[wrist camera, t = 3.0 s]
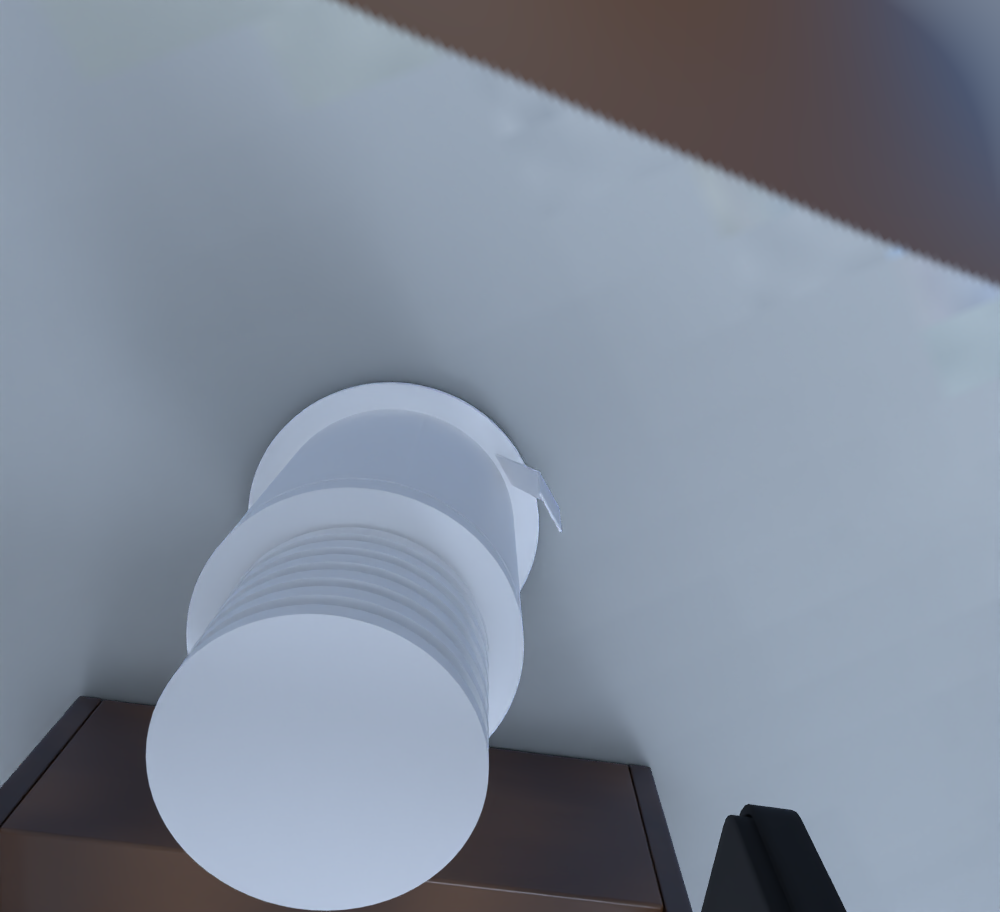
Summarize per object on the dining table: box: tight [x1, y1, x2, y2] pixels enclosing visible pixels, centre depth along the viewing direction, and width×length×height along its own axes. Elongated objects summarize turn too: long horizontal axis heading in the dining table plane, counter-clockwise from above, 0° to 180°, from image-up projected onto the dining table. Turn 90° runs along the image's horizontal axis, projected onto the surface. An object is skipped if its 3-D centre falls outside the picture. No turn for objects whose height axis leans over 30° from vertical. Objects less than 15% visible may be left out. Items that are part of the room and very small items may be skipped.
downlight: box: [146, 382, 562, 911], centre depth 16 cm, size 8×7×10 cm
